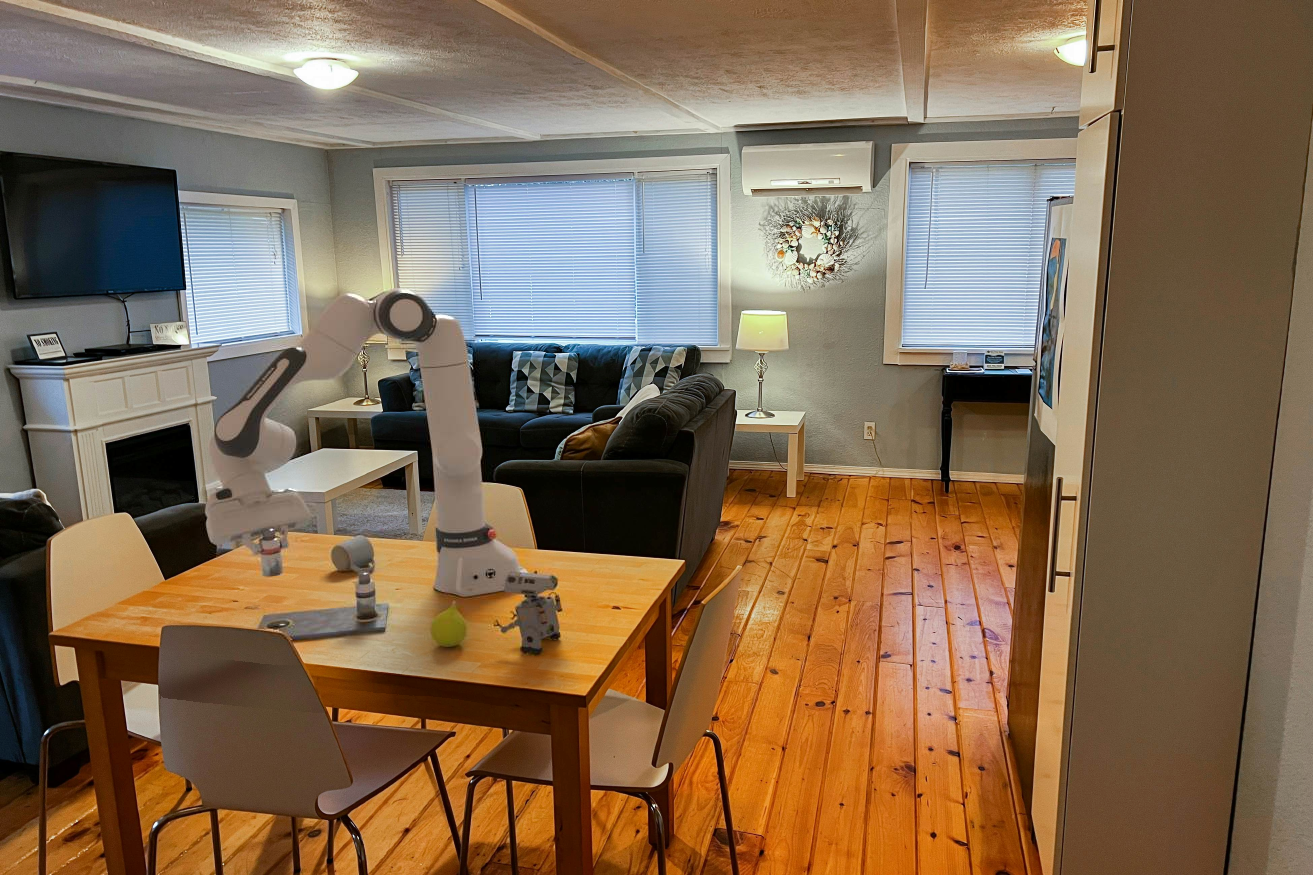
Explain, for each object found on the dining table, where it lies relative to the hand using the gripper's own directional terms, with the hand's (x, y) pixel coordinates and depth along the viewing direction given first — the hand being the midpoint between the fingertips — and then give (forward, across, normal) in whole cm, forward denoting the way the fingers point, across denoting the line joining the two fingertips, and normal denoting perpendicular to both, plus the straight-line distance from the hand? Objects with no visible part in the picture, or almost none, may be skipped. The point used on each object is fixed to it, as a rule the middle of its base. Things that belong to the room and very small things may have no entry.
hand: (271, 550), depth 192 cm
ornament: (+36, -21, +11) cm, 43 cm away
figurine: (+44, -33, +19) cm, 58 cm away
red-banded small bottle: (+3, 0, -4) cm, 5 cm away
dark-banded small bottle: (+18, -16, -6) cm, 24 cm away
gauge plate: (+15, -8, -10) cm, 20 cm away
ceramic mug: (-5, -30, -31) cm, 43 cm away
